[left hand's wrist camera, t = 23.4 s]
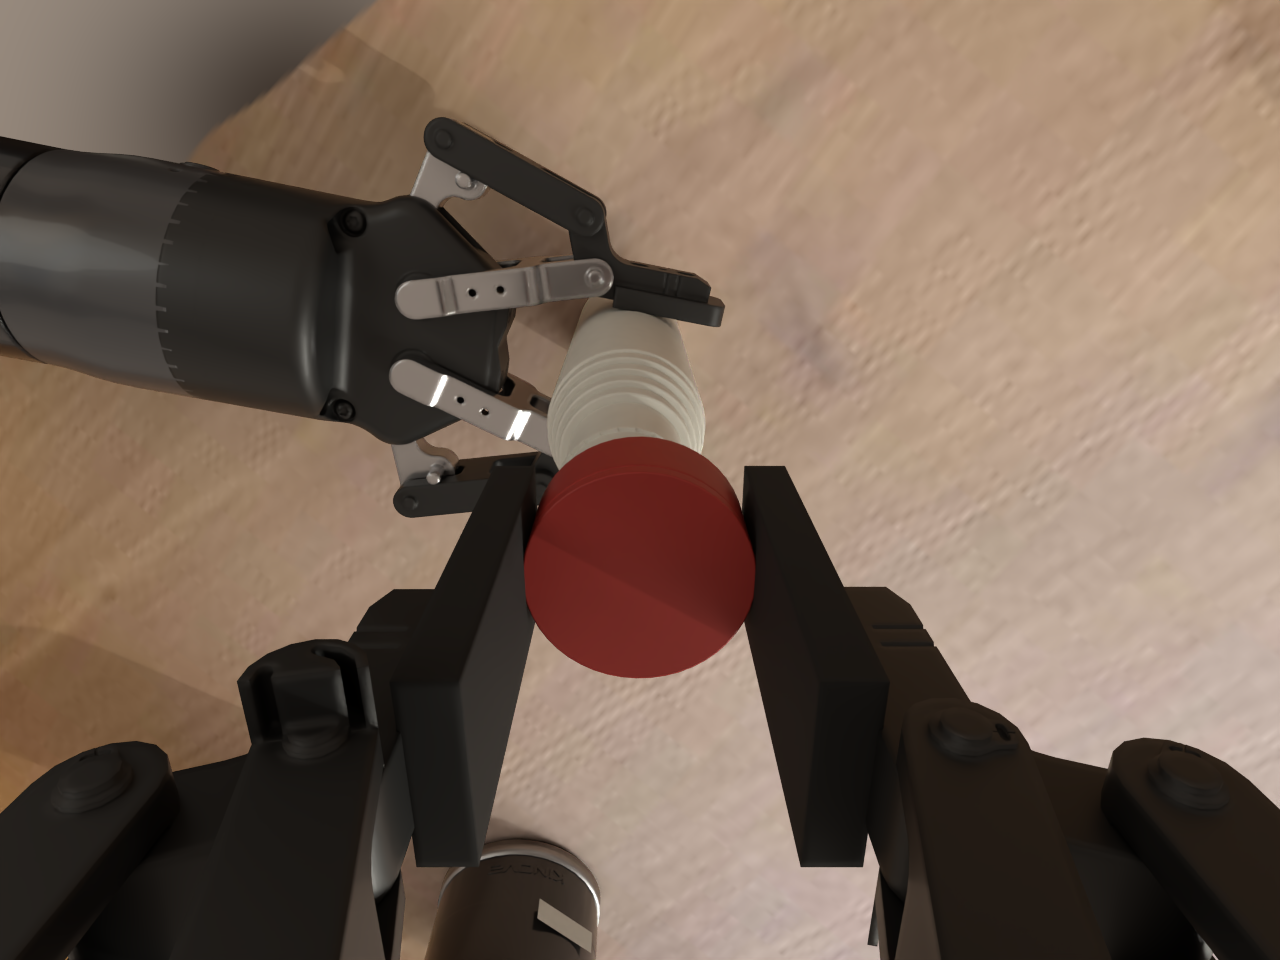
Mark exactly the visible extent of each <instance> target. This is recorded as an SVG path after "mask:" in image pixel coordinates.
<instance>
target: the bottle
mask: <svg viewBox="0 0 1280 960" xmlns="http://www.w3.org/2000/svg"><path fill="white" fill-rule="evenodd" d="M612 306H613V300H611V299H606V298H601V297H590V298H589V299H588V300H587V302H586V303H585V305H584V307H583V309H582V312H581V314H580V317H579V320H578V323H577V326H576V329H575V332H574V335H573V338H572V341H571V344H570V346H569V349H568V352H567V355H566V358H565V361H564V364H563V367H562V370H561V373H560V376H559V378H558V381H557V384H556V387H555V390H554V393H553V396H552V399H551V402H550V405H549V410H548V415H547V431H548V442H549V447H550V451H551V454H552V456H553V459H554V461H555V463H556V465H557V467H558V469H559V470H560V469H561V468H562V467H563V466H564V465H565V464H566V463H568V462H569V461H570V460H571V459H573V458H574V457H575V456H577V455H578V454H580V453H581V452H583V451H585V450H586V449H588V448H591V447H593V446H595V445H598V444H600V443H603V442H606V441H610V440H613V439H619V438H625V437H642V436H643V437H654V438H660V439H665V440H669V441H673V442H676V443H678V444H681V445H684V446H686V447H688V448H690V449H692V450H694V451H696V452H698V453H699V454H701V451H702V448H703V443H704V434H705V414H704V408H703V405H702V401H701V398H700V394H699V391H698V388H697V385H696V381H695V378H694V375H693V372H692V368H691V365H690V362H689V359H688V355H687V352H686V349H685V346H684V342H683V339H682V336H681V332H680V329H679V326H678V323H677V320H675V319H670V318H665V317H660V316H654V315H649V314H645V313H641V312H636V311H628V310H623V309H618V308H613V307H612Z"/></svg>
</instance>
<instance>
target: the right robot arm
mask: <svg viewBox="0 0 1280 960" xmlns="http://www.w3.org/2000/svg"><path fill="white" fill-rule="evenodd" d="M424 143H425V146H426V148H427V153H426V155H425V158H424V161H423V163H422V166H421V168H420V171H419V173H418V176H417V178H416V181H415V183H414V186H413V189H412V191H411V194H410V195H403V196H398V197H394V198H392V199H390V200H387V201H383V202H371V201H364V200H359V199H354V198H349V197H344V196H339V195H334V194H329V193H324V192H319V191H314V190H309V189H304V188H299V187H294V186H289V185H284V184H279V183H274V182H269V181H264V180H259V179H255V178H250V177H245V176H239V175H234V174H229V173H223V172H220V171H219V170H217V169H214V168H212V167H209V166H205V165H202V164H197V163H192V162H185V163H180V164H179V163H174V162H169V161H163V160H158V159H153V158H147V157H141V156H135V155H124V154H106V153H90V152H80V151H73V150H67V149H61V148H56V147H51V146H46V145H41V144H36V143H31V142H26V141H21V140H16V139H11V138H6V137H1V136H0V356H5V357H10V358H16V359H21V360H27V361H33V362H38V363H44V364H51V365H55V366H60V367H64V368H68V369H71V370H75V371H78V372H81V373H84V374H87V375H90V376H93V377H96V378H100V379H103V380H107V381H110V382H114V383H118V384H123V385H128V386H132V387H137V388H142V389H148V390H154V391H159V392H165V393H171V394H176V395H182V396H188V397H193V398H199V399H205V400H210V401H216V402H222V403H228V404H233V405H239V406H244V407H250V408H256V409H261V410H267V411H273V412H278V413H284V414H290V415H295V416H301V417H307V418H312V419H318V420H325V421H334V422H345V423H350V424H354V425H356V426H359V427H361V428H363V429H365V430H366V431H368V432H370V433H371V434H372V435H374V436H375V437H376V438H378V439H379V440H381V441H383V442H385V443H388V444H391V446H392V450H393V454H394V458H395V463H396V467H397V471H398V475H399V479H400V484H401V486H400V488H399V489H398V491H397V492H396V493H395V495H394V498H393V504H394V507H395V509H396V510H397V511H398V512H399V513H400V514H401V515H403V516H405V517H410V518H415V517H425V516H435V515H444V514H454V513H464V512H472V511H473V509H474V507H475V505H476V503H477V501H478V499H479V497H480V495H481V493H482V491H483V489H484V487H485V485H486V483H487V481H488V479H489V477H490V475H491V473H492V471H493V468H494V466H535V475H536V493H537V505H539V504H540V501H541V498H542V495H543V494H544V492H545V490H546V488H547V486H548V484H549V483H550V481H551V480H552V479H553V477H554V476H555V475H556V473H557V472H558V471H559V469H558V467H557V465H556V463H555V461H554V459H553V456H552V454H551V451H550V447H549V442H548V431H547V415H548V410H549V405H550V402H551V399H552V398H550V397H548V396H546V395H544V394H542V393H540V392H539V391H537V389H536V388H535V387H534V386H533V385H531V384H530V383H528V382H526V381H524V380H522V379H520V378H518V377H516V376H514V375H512V374H510V373H508V366H509V352H508V345H507V334H508V332H509V329H510V327H511V325H512V322H513V320H514V317H515V313H516V308H518V307H527V306H534V305H539V304H542V303H546V302H552V301H561V300H571V299H580V298H590V297H601V298H606V299H611V300H613V306H612V307H613V308H618V309H623V310H628V311H636V312H641V313H645V314H649V315H654V316H660V317H665V318H670V319H675V320H680V321H686V322H691V323H696V324H701V325H706V326H712V327H720V326H721V321H722V317H723V313H724V308H725V305H724V304H723V302H722V301H721V300H720V299H718V298H715V297H712V296H709V295H710V291H711V287H710V285H709V284H708V282H707V281H705V280H704V279H702V278H701V277H699V276H698V275H696V274H695V273H690V272H685V271H680V270H675V269H670V268H665V267H660V266H655V265H650V264H645V263H640V262H635V261H629V260H626V259H623V258H621V257H620V256H618V255H617V254H616V253H615V251H614V250H613V248H612V246H611V244H610V239H609V233H608V227H607V221H606V208H605V205H604V203H603V202H602V200H601V199H600V198H598V197H597V196H595V195H593V194H592V193H590V192H588V191H586V190H584V189H583V188H581V187H579V186H577V185H575V184H574V183H572V182H570V181H568V180H566V179H565V178H563V177H561V176H559V175H558V174H556V173H554V172H552V171H550V170H549V169H547V168H545V167H543V166H541V165H540V164H538V163H536V162H534V161H532V160H531V159H529V158H527V157H525V156H523V155H522V154H520V153H518V152H516V151H514V150H513V149H511V148H509V147H507V146H505V145H504V144H502V143H500V142H498V141H497V140H495V139H493V138H491V137H489V136H488V135H486V134H484V133H482V132H480V131H479V130H477V129H475V128H473V127H471V126H470V125H468V124H466V123H463V122H460V121H457V120H453V119H450V118H445V117H439V118H435V119H433V120H432V121H430V122H429V123H428V125H427V126H426V128H425V131H424ZM490 188H492V189H494V190H495V191H497V192H499V193H501V194H503V195H505V196H506V197H508V198H510V199H512V200H514V201H516V202H517V203H519V204H521V205H523V206H525V207H527V208H528V209H530V210H532V211H534V212H536V213H538V214H540V215H541V216H543V217H545V218H547V219H549V220H551V221H552V222H554V223H556V224H558V225H560V226H562V227H563V228H565V229H567V230H568V231H569V236H570V241H571V247H572V252H573V254H566V255H557V256H535V257H526V258H517V259H507V260H498V261H495V260H494V259H493V258H492V257H491V256H490V255H489V254H488V253H487V252H486V251H485V250H484V249H483V248H482V247H481V246H480V245H479V244H478V243H477V241H476V240H475V239H474V238H473V237H472V236H471V235H470V234H469V233H468V232H467V231H466V230H465V229H464V228H463V227H462V226H461V225H460V224H459V223H458V222H457V221H456V220H455V219H454V218H453V217H452V216H451V215H450V214H449V213H448V212H447V211H446V210H445V209H444V208H443V206H444V204H445V203H446V201H447V200H449V199H450V198H452V197H459V198H461V199H464V200H475V199H480V198H482V197H484V196H485V195H486V194H487V193H488V192H489V190H490ZM501 388H502V389H501ZM485 409H487V410H488V411H485ZM459 420H464V421H466V422H468V423H470V424H472V425H474V426H476V427H478V428H480V429H483V430H485V431H487V432H489V433H491V434H493V435H495V436H497V437H499V438H502V439H505V440H516V441H519V442H522V443H524V444H526V445H528V446H530V447H532V448H534V449H536V450H538V451H539V452H529V453H520V454H510V455H500V456H490V457H481V458H471V459H461V460H459V459H458V457H457V455H456V454H455V453H454V452H453V451H451V450H450V449H447V448H438V447H434V446H432V445H430V444H429V443H427V442H426V440H425V439H424V437H425V436H427V435H429V434H432V433H434V432H436V431H438V430H440V429H442V428H444V427H447V426H449V425H451V424H453V423H455V422H457V421H459ZM599 916H600V892H599V887H598V884H597V882H596V880H595V878H594V876H593V874H592V873H591V872H590V870H589V869H588V868H587V867H586V866H585V865H584V864H583V863H582V862H581V861H580V860H579V859H578V858H576V857H575V856H573V855H572V854H570V853H569V852H567V851H565V850H563V849H561V848H558V847H556V846H553V845H550V844H547V843H543V842H539V841H533V840H522V839H513V840H502V841H496V842H492V843H488V844H485V845H484V846H483V851H482V855H481V859H480V864H479V867H451V868H450V869H449V871H448V872H447V874H446V876H445V878H444V881H443V884H442V888H441V892H440V896H439V900H438V910H437V914H436V918H435V922H434V926H433V929H432V933H431V937H430V941H429V944H428V948H427V951H426V955H425V959H424V960H596V945H597V926H598V923H599Z"/></svg>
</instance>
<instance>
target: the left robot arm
mask: <svg viewBox="0 0 1280 960" xmlns="http://www.w3.org/2000/svg"><path fill="white" fill-rule="evenodd" d="M536 513H537V493H536V475H535V466H494V468H493V471H492V473H491V475H490V477H489V479H488V481H487V483H486V485H485V487H484V489H483V491H482V493H481V495H480V497H479V499H478V501H477V503H476V505H475V507H474V509H473V511H472V514H471V516H470V518H469V520H468V522H467V524H466V526H465V528H464V530H463V532H462V534H461V536H460V538H459V540H458V542H457V544H456V546H455V548H454V550H453V552H452V554H451V557H450V559H449V561H448V563H447V565H446V567H445V569H444V571H443V573H442V575H441V577H440V579H439V581H438V583H437V585H436V587H435V589H394V590H392V591H391V592H389V593H388V594H387V595H385V596H384V597H383V598H381V599H380V600H378V601H377V602H376V603H374V604H373V605H372V606H370V607H369V609H368V610H367V612H366V613H365V615H364V617H363V618H362V620H361V622H360V623H359V625H358V626H357V632H354V633H353V635H352V636H351V638H350V639H349V641H348V642H346V641H342V640H338V639H315V640H310V641H305V642H300V643H295V644H290V645H288V646H285V647H283V648H281V649H278V650H276V651H273V652H271V653H268V654H266V655H265V656H263V657H262V658H260V659H259V660H258V661H256V662H255V663H253V664H252V665H250V666H249V667H248V668H247V669H246V670H245V672H244V673H243V674H242V676H241V677H240V678H239V679H238V681H237V684H238V688H239V693H240V697H241V701H242V705H243V709H244V714H245V718H246V722H247V726H248V731H249V735H250V739H251V743H252V745H251V748H250V750H249V753H248V754H246V755H242V756H239V757H235V758H232V759H228V760H225V761H221V762H216V763H211V764H207V765H202V766H198V767H193V768H189V769H184V770H180V771H175V772H172V769H171V766H170V762H169V759H168V756H167V754H166V753H165V752H164V751H163V750H161V749H160V748H159V747H158V746H157V745H154V744H149V743H144V742H139V741H131V742H121V743H111V744H108V745H104V746H101V747H98V748H93V749H91V750H88V751H85V752H82V753H80V754H78V755H76V756H74V757H72V758H70V759H68V760H66V761H64V762H62V763H60V764H58V765H56V766H54V767H53V768H52V769H50V770H49V771H48V772H46V773H45V774H44V775H42V776H41V777H40V778H38V779H37V780H36V781H34V782H33V783H32V784H31V785H30V786H29V787H28V788H27V789H26V790H24V791H23V792H22V793H21V794H20V795H19V796H18V797H17V798H16V799H15V800H14V801H13V802H12V803H11V804H10V805H9V806H8V807H7V808H6V809H5V810H4V811H3V812H1V813H0V960H65V959H66V958H67V956H68V959H67V960H400V951H401V940H402V929H403V919H404V908H405V893H404V887H403V880H402V874H401V865H402V862H403V860H404V857H405V854H406V851H407V848H408V845H409V842H410V839H411V836H412V839H413V846H414V853H415V859H416V866H417V867H479V864H480V859H481V855H482V851H483V846H484V842H485V838H486V833H487V829H488V825H489V820H490V816H491V812H492V807H493V803H494V798H495V794H496V790H497V785H498V781H499V777H500V772H501V768H502V764H503V759H504V755H505V751H506V746H507V742H508V738H509V733H510V729H511V725H512V720H513V716H514V712H515V707H516V703H517V699H518V694H519V690H520V686H521V681H522V677H523V673H524V668H525V664H526V660H527V655H528V651H529V647H530V642H531V638H532V634H533V629H534V625H535V621H534V619H533V617H532V615H531V613H530V610H529V608H528V606H527V603H526V592H525V576H524V554H525V549H526V546H527V543H528V539H529V536H530V533H531V529H532V526H533V523H534V519H535V516H536ZM742 514H743V517H744V520H745V524H746V527H747V530H748V534H749V537H750V540H751V544H752V547H753V551H754V554H755V560H756V567H755V584H754V598H753V602H752V605H751V608H750V610H749V612H748V614H747V616H746V619H745V621H744V623H745V627H746V631H747V636H748V640H749V644H750V649H751V653H752V657H753V662H754V666H755V670H756V675H757V679H758V683H759V688H760V692H761V696H762V701H763V705H764V709H765V714H766V718H767V722H768V727H769V731H770V735H771V740H772V744H773V749H774V753H775V757H776V762H777V766H778V770H779V775H780V779H781V783H782V788H783V792H784V796H785V801H786V805H787V809H788V814H789V818H790V822H791V827H792V831H793V835H794V840H795V844H796V848H797V853H798V857H799V861H800V866H801V867H863V863H864V856H865V849H866V842H867V836H868V834H869V837H870V840H871V843H872V846H873V849H874V851H875V854H876V857H877V860H878V863H879V866H880V868H879V874H878V880H877V887H876V893H875V899H874V906H873V912H872V918H871V925H870V931H869V938H868V944H867V945H872V946H877V945H878V940H879V949H880V960H1216V959H1215V958H1214V957H1213V956H1212V954H1213V953H1214V954H1215V956H1216V957H1217V958H1218V960H1280V809H1279V808H1278V807H1277V806H1276V805H1275V804H1274V803H1272V802H1271V801H1270V800H1269V799H1268V798H1267V797H1266V796H1265V795H1264V794H1263V793H1262V792H1261V791H1260V790H1259V789H1258V788H1257V787H1256V786H1255V785H1254V784H1252V783H1251V782H1250V781H1249V780H1248V779H1247V778H1245V777H1244V776H1243V775H1241V774H1240V773H1239V772H1237V771H1236V770H1235V769H1233V768H1232V767H1231V766H1229V765H1228V764H1227V763H1225V762H1223V761H1221V760H1219V759H1217V758H1215V757H1213V756H1211V755H1209V754H1207V753H1205V752H1203V751H1201V750H1199V749H1197V748H1194V747H1191V746H1188V745H1184V744H1181V743H1177V742H1174V741H1170V740H1162V739H1152V738H1140V739H1135V740H1130V741H1124V742H1123V743H1122V744H1121V745H1120V746H1119V747H1117V748H1116V749H1115V750H1114V751H1113V753H1112V757H1111V760H1110V764H1109V767H1108V769H1106V768H1101V767H1097V766H1092V765H1087V764H1083V763H1078V762H1074V761H1069V760H1065V759H1060V758H1055V757H1052V756H1048V755H1045V754H1041V753H1038V752H1035V751H1032V750H1031V749H1030V746H1029V744H1028V742H1027V741H1026V739H1025V738H1024V736H1023V735H1022V733H1021V732H1020V730H1019V729H1018V727H1016V726H1015V725H1014V724H1012V723H1011V722H1010V721H1009V720H1007V719H1006V718H1005V717H1003V716H1002V715H1001V714H999V713H997V712H995V711H993V710H991V709H989V708H986V707H984V706H982V705H980V704H978V703H974V702H971V701H970V700H969V698H968V697H967V695H966V693H965V692H964V690H963V688H962V687H961V685H960V684H959V682H958V680H957V679H956V677H955V676H954V674H953V672H952V671H951V669H950V668H949V666H948V664H947V663H946V661H945V659H944V658H943V656H942V655H941V653H940V651H939V650H938V648H937V647H934V642H933V640H932V639H931V637H930V635H929V634H928V632H927V631H926V629H923V624H922V622H921V621H920V619H919V618H918V616H917V614H916V613H915V611H914V610H913V608H912V606H911V605H910V604H909V603H908V602H906V601H905V600H903V599H902V598H901V597H899V596H898V595H896V594H895V593H894V592H892V591H891V590H890V589H888V588H887V587H844V586H843V584H842V582H841V580H840V578H839V576H838V574H837V572H836V570H835V568H834V566H833V564H832V562H831V560H830V558H829V556H828V554H827V551H826V549H825V547H824V545H823V543H822V541H821V539H820V537H819V535H818V533H817V531H816V529H815V527H814V525H813V523H812V521H811V519H810V517H809V515H808V513H807V511H806V508H805V506H804V504H803V502H802V500H801V498H800V496H799V494H798V492H797V490H796V488H795V486H794V484H793V482H792V480H791V478H790V476H789V474H788V472H787V470H786V467H785V466H744V484H743V503H742Z"/></svg>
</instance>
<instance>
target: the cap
mask: <svg viewBox="0 0 1280 960" xmlns="http://www.w3.org/2000/svg"><path fill="white" fill-rule="evenodd" d="M755 567H756V560H755V554H754V551H753V547H752V544H751V540H750V537H749V534H748V530H747V527H746V524H745V520H744V517H743V514H742V510H741V507H740V504H739V501H738V498H737V496H736V494H735V492H734V490H733V488H732V486H731V485H730V483H729V482H728V480H727V479H726V477H725V476H724V475H723V474H722V473H721V471H720V470H719V469H718V468H717V467H716V466H715V465H714V464H712V463H711V462H710V461H709V460H708V459H706V458H705V457H704V456H702V455H701V454H699V453H698V452H696V451H694V450H692V449H690V448H688V447H686V446H684V445H681V444H678V443H676V442H673V441H669V440H665V439H660V438H654V437H643V436H642V437H625V438H619V439H613V440H610V441H606V442H603V443H600V444H598V445H595V446H593V447H591V448H588V449H586V450H585V451H583V452H581V453H580V454H578V455H577V456H575V457H574V458H573V459H571V460H570V461H569V462H568V463H566V464H565V465H564V466H563V467H562V468H561V469H560V470H559V471H558V472H557V473H556V475H555V476H554V477H553V479H552V480H551V481H550V483H549V484H548V486H547V488H546V490H545V492H544V494H543V495H542V498H541V501H540V504H539V506H538V509H537V513H536V516H535V519H534V523H533V526H532V529H531V533H530V536H529V539H528V543H527V546H526V549H525V554H524V576H525V592H526V603H527V606H528V608H529V610H530V613H531V615H532V617H533V619H534V621H535V622H536V624H537V626H538V627H539V629H540V630H541V631H542V633H543V634H544V635H545V637H546V638H547V639H548V640H549V641H550V642H551V643H552V644H553V645H554V646H555V647H556V648H557V649H558V650H560V651H561V652H562V653H564V654H565V655H566V656H568V657H569V658H571V659H572V660H574V661H576V662H577V663H579V664H581V665H583V666H586V667H588V668H590V669H592V670H595V671H598V672H601V673H605V674H608V675H613V676H619V677H627V678H653V677H660V676H666V675H670V674H674V673H678V672H681V671H684V670H686V669H689V668H691V667H694V666H696V665H697V664H699V663H701V662H703V661H705V660H707V659H708V658H710V657H711V656H713V655H714V654H715V653H717V652H718V651H719V650H720V649H721V648H723V647H724V646H725V645H726V644H727V643H728V642H729V641H730V640H731V639H732V637H733V636H734V635H735V634H736V633H737V631H738V630H739V628H740V627H741V625H742V624H743V622H744V621H745V619H746V616H747V614H748V612H749V610H750V608H751V605H752V602H753V598H754V584H755Z"/></svg>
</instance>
